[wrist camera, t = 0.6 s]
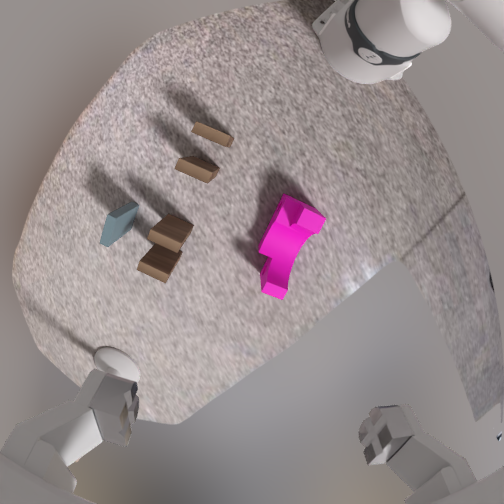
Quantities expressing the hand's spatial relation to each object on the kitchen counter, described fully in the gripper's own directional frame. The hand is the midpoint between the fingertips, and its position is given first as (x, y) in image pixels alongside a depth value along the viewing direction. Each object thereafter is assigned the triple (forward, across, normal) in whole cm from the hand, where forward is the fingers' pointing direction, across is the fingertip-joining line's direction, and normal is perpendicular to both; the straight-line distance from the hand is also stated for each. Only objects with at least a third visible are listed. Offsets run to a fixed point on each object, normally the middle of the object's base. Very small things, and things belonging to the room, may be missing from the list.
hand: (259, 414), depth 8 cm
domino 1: (+43, +21, +7) cm, 48 cm away
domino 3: (+43, +13, +12) cm, 46 cm away
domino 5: (+42, +9, -4) cm, 44 cm away
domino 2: (+43, +11, +7) cm, 45 cm away
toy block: (+43, -7, +6) cm, 44 cm away
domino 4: (+42, +7, -9) cm, 44 cm away
